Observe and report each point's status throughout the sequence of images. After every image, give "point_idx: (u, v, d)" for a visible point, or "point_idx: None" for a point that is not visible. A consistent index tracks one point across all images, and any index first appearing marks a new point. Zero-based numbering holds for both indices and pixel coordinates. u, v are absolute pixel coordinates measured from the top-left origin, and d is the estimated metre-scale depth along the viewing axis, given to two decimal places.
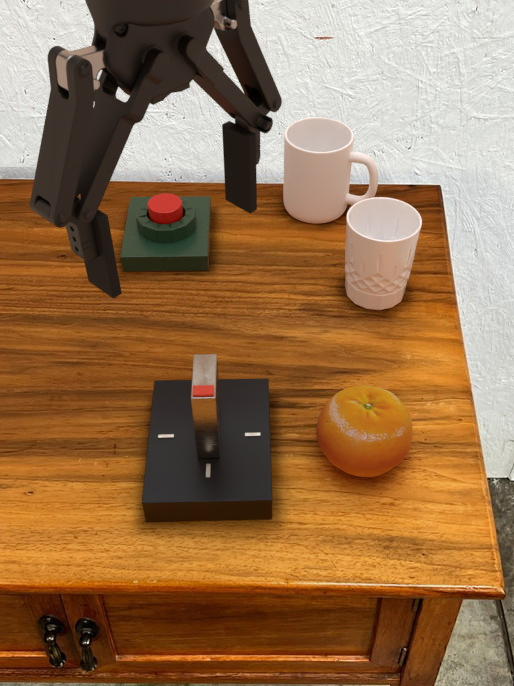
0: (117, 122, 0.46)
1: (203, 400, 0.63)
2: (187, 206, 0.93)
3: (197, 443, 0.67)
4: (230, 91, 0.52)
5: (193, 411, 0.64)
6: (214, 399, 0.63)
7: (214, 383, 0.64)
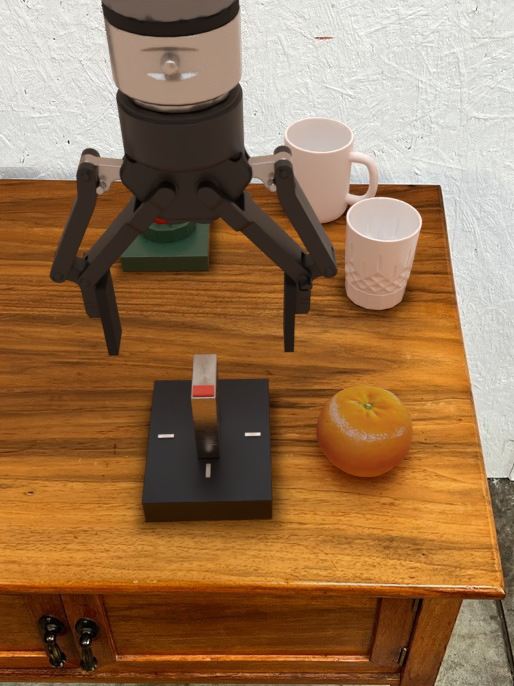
0: (123, 225, 0.52)
1: (203, 400, 0.63)
2: None
3: (197, 443, 0.67)
4: (264, 242, 0.53)
5: (193, 411, 0.64)
6: (214, 399, 0.63)
7: (214, 383, 0.64)
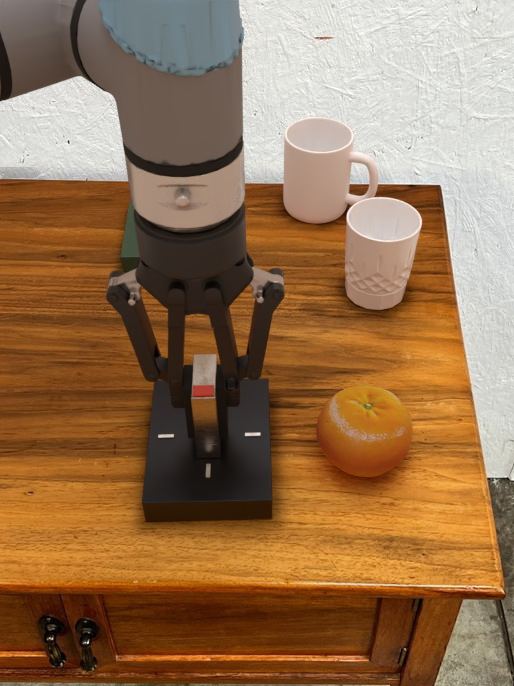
0: None
1: (203, 400, 0.63)
2: None
3: (197, 443, 0.67)
4: (224, 343, 0.60)
5: (193, 411, 0.64)
6: (214, 399, 0.63)
7: (214, 383, 0.64)
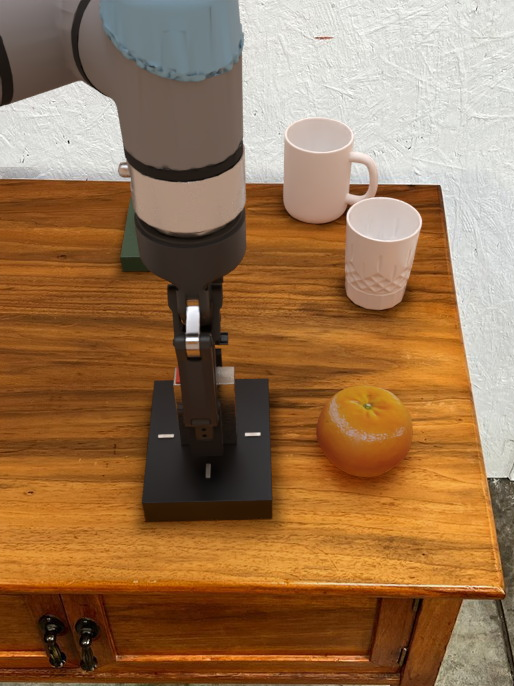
0: None
1: (174, 378, 0.64)
2: None
3: None
4: None
5: None
6: (173, 385, 0.64)
7: None
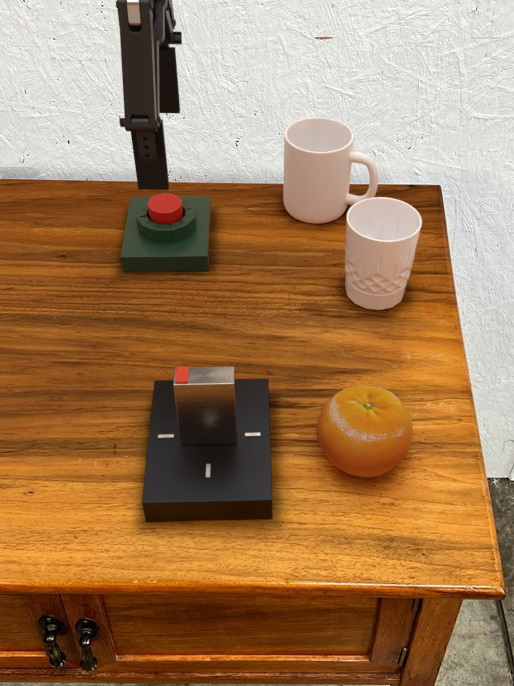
0: None
1: (174, 378, 0.64)
2: (187, 206, 0.93)
3: None
4: None
5: None
6: (173, 385, 0.64)
7: (192, 383, 0.63)
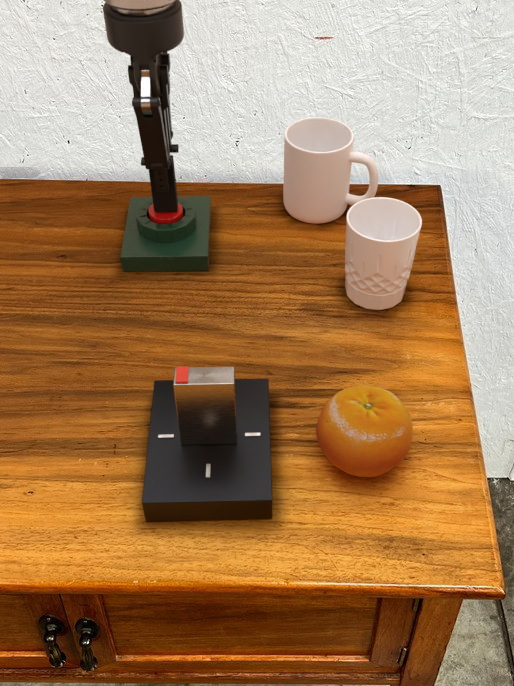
0: None
1: (174, 378, 0.64)
2: (187, 206, 0.93)
3: None
4: None
5: None
6: (173, 385, 0.64)
7: (192, 383, 0.63)
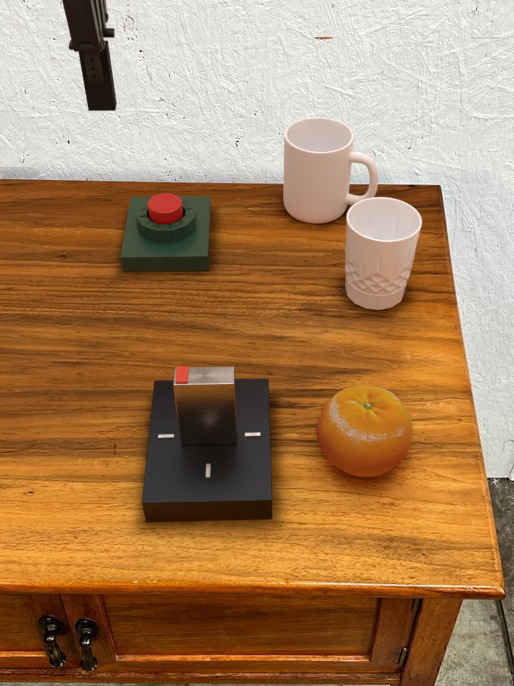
0: None
1: (174, 378, 0.64)
2: (187, 206, 0.93)
3: None
4: None
5: None
6: (173, 385, 0.64)
7: (192, 383, 0.63)
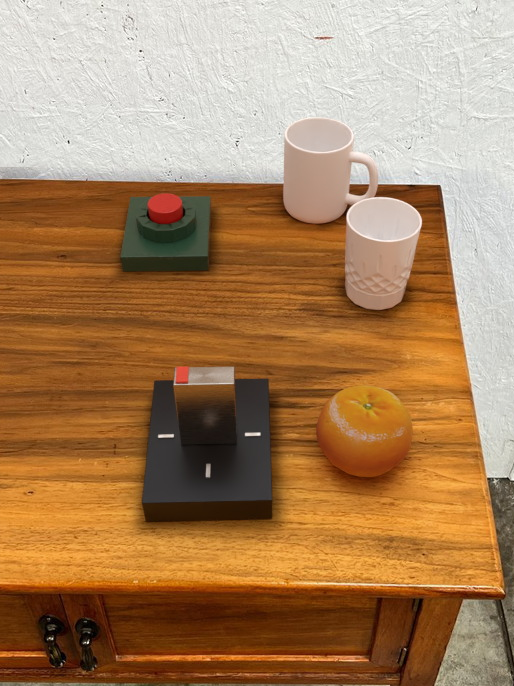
0: None
1: (174, 378, 0.64)
2: (187, 206, 0.93)
3: None
4: None
5: None
6: (173, 385, 0.64)
7: (192, 383, 0.63)
